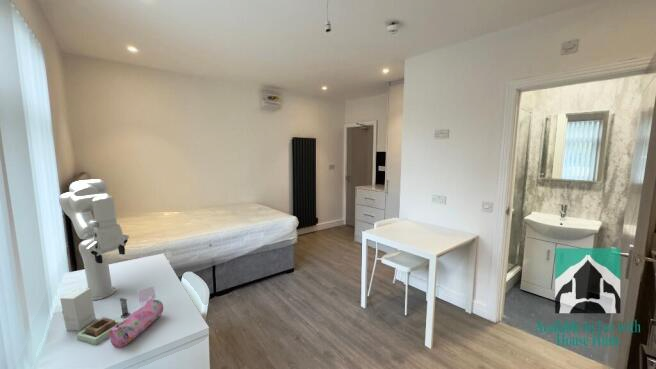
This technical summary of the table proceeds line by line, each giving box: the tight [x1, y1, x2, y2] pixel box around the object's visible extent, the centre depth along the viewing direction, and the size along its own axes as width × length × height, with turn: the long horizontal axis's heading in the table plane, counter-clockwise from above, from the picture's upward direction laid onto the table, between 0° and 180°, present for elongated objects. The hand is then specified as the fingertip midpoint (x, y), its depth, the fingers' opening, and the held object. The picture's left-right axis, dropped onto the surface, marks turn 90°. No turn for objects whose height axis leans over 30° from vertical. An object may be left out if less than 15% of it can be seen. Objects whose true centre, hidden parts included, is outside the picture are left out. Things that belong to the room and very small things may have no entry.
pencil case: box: [109, 298, 164, 348], centre depth 113 cm, size 21×9×9 cm, turn 173°
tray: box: [76, 317, 123, 346], centre depth 112 cm, size 11×11×2 cm
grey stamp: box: [119, 297, 131, 319], centre depth 123 cm, size 4×4×8 cm
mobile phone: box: [137, 286, 157, 304], centre depth 141 cm, size 8×1×15 cm
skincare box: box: [59, 287, 96, 332], centre depth 117 cm, size 8×7×16 cm
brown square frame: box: [84, 317, 116, 337], centre depth 112 cm, size 7×7×4 cm
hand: (111, 258), depth 124 cm, fingers open, 9 cm apart
